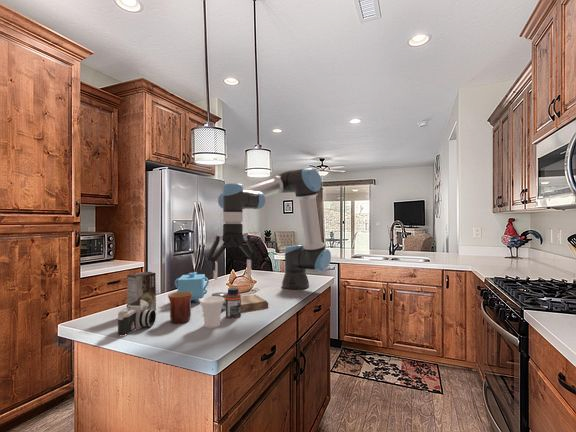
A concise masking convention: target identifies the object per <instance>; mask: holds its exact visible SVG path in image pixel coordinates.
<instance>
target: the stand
mask: <svg viewBox="0 0 576 432" xmlns="http://www.w3.org/2000/svg"><path fill="white" fill-rule="evenodd" d="M262 308H263V309H267V308H268V309H269V302H268V301H267V300H266V299H264V298H262V297H260V296H259V295H257V294H249V295H248V294H247V295H241V313H242V312H243V313H244V312H248V311H256V309H257V310H261V309H262Z"/></svg>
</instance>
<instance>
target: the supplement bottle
mask: <svg viewBox="0 0 576 432" xmlns="http://www.w3.org/2000/svg"><path fill="white" fill-rule="evenodd" d="M226 293H227V294H226V310H225V318H226V319H231V320H232V319H233V320H234V319H238V318H239V319H240V317H241V316H242V312H241V296H242V295H241V293H239V287H234V286H233V287H232V286H231V287H228V288H227V292H226Z"/></svg>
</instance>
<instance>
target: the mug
mask: <svg viewBox="0 0 576 432" xmlns="http://www.w3.org/2000/svg"><path fill="white" fill-rule="evenodd" d="M192 294H193V293H192V292H187V291H182V292H177V291H175V292H171V293H169V294H168V296H167V297H168V300H169V303H170V304H169V306H170V307H169V317H170V318H169V319H170V322H171V323H172V324H178V325H180V324H185V323H188V322H189V321H190V320H191V315H192V313H191V311H192V310H191V308H192V306H191V301H192V300H191V298H192Z"/></svg>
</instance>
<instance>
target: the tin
mask: <svg viewBox="0 0 576 432" xmlns="http://www.w3.org/2000/svg"><path fill="white" fill-rule="evenodd" d="M227 293H228V292H223V291H222V292H214V293H212V294H211V296H220V297H223V298H224V302H223V304H222V309H221V312H226V294H227Z"/></svg>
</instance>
